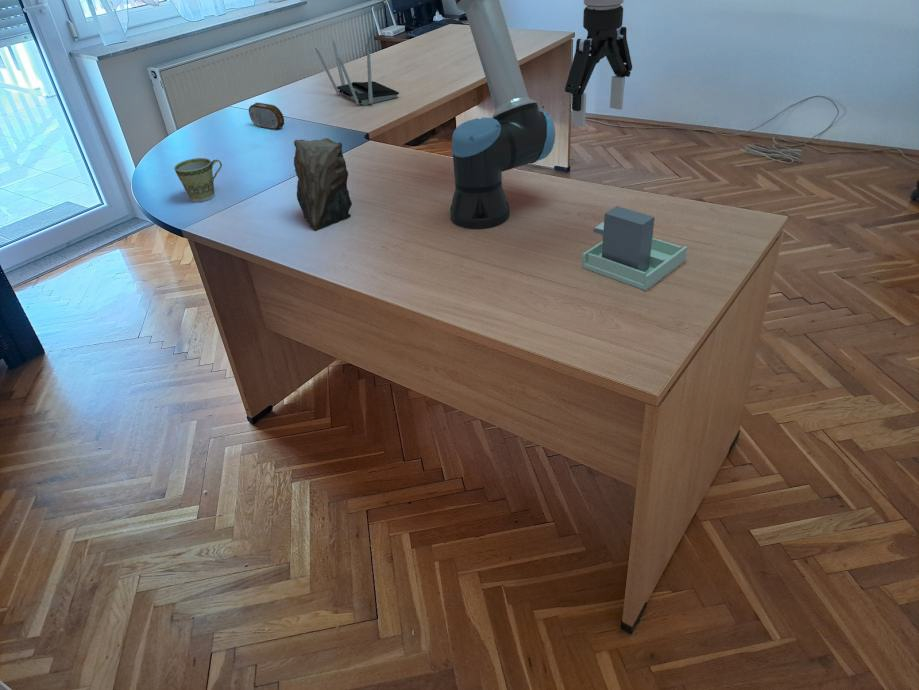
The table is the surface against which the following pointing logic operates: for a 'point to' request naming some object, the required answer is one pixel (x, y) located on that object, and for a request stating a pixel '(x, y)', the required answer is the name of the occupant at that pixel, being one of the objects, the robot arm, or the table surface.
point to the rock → (321, 182)
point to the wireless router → (359, 84)
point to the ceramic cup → (197, 178)
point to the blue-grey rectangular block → (628, 237)
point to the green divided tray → (660, 265)
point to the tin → (266, 116)
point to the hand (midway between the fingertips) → (597, 116)
